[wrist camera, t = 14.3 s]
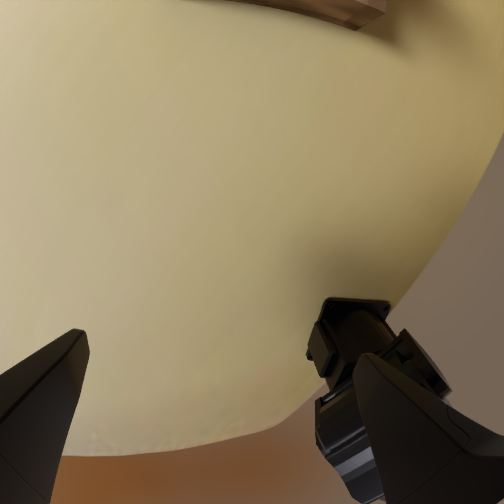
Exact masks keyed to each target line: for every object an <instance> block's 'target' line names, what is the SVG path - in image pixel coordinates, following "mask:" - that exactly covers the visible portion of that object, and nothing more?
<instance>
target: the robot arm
mask: <svg viewBox="0 0 504 504" xmlns="http://www.w3.org/2000/svg"><path fill="white" fill-rule="evenodd" d="M330 303H332V304H331V305H330V306H328V304H330ZM385 306H386V307H385ZM384 307H385V308H384ZM390 307H391V306H390V304H389V303H388V302H387V301H372V300H356V299H341V298H328V299H326V300H325V301H324V303H323V306H322V309H321V312H320V315H319V318H318V321H316V322H315V324H314V327H313V330H312V333H311V336H310V339H309V342H308V350H307V353H306V357H307V359H308V360H310V361H314V364H315V366H316V369H317V372H318V374H319V376H320V377H321V378H325V379H326V382H327V385H328V387H329V390H330V392H329V393H327V394H326V395H324V396H323V397H320V398H318V399H317V400H315V436H316V445H317V446H318V448H319V449H320V451H321V453H322V454H323V456H324V457H325V459H326V460H327V461H328V462H329V463H330V464H331V465H332V466H333V467H334V468H335V470H336V471H337V472H338V474H339V475H340V476H341V478H342V479H343V481H344V483H345V485H346V487H347V489H348V490H349V492H350V495H351V496H352V498H354V499H355V500H357V501H358V502H360V503H362V504H370V503H371V502H374V501H376V500H378V499H379V500H382V501H385V502H386V504H504V436H502V435H499V434H497V433H494V432H493V431H491V430H489V429H487V428H485V427H484V426H482V425H480V424H478V423H476V422H474V421H473V420H471V419H469V418H468V417H466V416H464V415H463V414H461V413H460V412H458V411H457V410H455V409H454V408H453V407H452V406H451V404H450V403H449V402H448V401H447V399H446V396H448V395H449V394H450V393H451V392H452V389H451V388H450V386H449V384H448V382H447V381H446V379H445V377H444V376H443V374H442V373H441V371H440V370H439V369H438V367H437V366H436V364H435V363H434V362H433V361H432V359H431V358H430V357H429V356H428V354H427V353H426V352H425V351H424V349H423V348H422V347H421V346H420V345H419V344H418V343H417V341H416V340H415V339H414V338H413V337H412V336H411V335H410V334H409V332H407V330H406V329H403V330H402V331H401V332H400V335H399V336H396V335H395V334H394V332H393V331H392V330H391V328H390V327H389V326H388V324H387V323H386V321H385V320H386V317H387V315H388V313H389V310H390ZM89 355H90V350H89V345H88V340H87V335H86V332H85V331H84V330H80V329H71V330H70V331H68V332H67V333H65V334H63V335H62V336H60V337H59V338H57V339H55V340H54V341H52V342H51V343H49V344H47V345H46V346H44V347H43V348H41V349H40V350H38V351H36V352H35V353H33V354H32V355H30V356H29V357H27V358H25V359H24V360H22V361H21V362H19V363H18V364H16V365H15V366H13V367H12V368H10V369H8V370H7V371H5V372H4V373H2V374H1V375H0V504H49V503H50V500H51V496H52V491H53V487H54V483H55V479H56V474H57V470H58V467H59V463H60V459H61V455H62V452H63V448H64V445H65V441H66V438H67V435H68V431H69V428H70V425H71V422H72V419H73V415H74V412H75V409H76V406H77V404H78V400H79V397H80V394H81V389H82V385H83V381H84V376H85V372H86V368H87V364H88V360H89ZM310 355H311V356H310Z"/></svg>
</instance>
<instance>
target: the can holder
mask: <svg viewBox="0 0 504 504" xmlns="http://www.w3.org/2000/svg"><path fill="white" fill-rule="evenodd" d="M230 1H238V2H245V3H251V4H257V5H263V6H268V7H273V8H278V9H283V10H287V11H292V12H296V13H300V14H304V15H307V16H311V17H315V18H318V19H322V20H325V21H328V22H332V23H335V24H338V25H341V26H344V27H347V28H350V29H352V30H355V31H356V30H357V29H359V28H360V27H362V26H364V25H365V24H367V23H369V22H370V21H372V20H374V19H376V18H377V17H379V16H381V15H383V14H384V13H386V1H387V0H230Z"/></svg>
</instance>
